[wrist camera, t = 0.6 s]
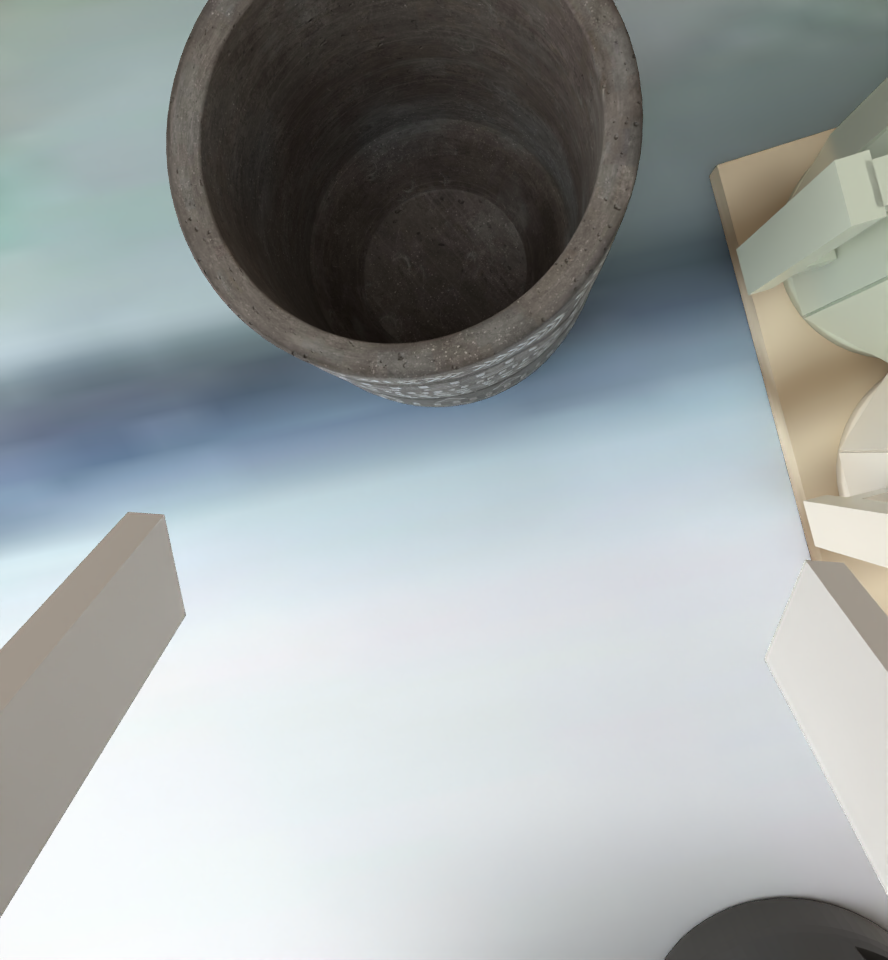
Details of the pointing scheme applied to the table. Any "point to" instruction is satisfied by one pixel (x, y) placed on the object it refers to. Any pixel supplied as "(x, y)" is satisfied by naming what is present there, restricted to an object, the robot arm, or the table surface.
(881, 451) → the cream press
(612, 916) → the table surface
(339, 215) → the planter
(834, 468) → the board
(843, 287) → the sage press
